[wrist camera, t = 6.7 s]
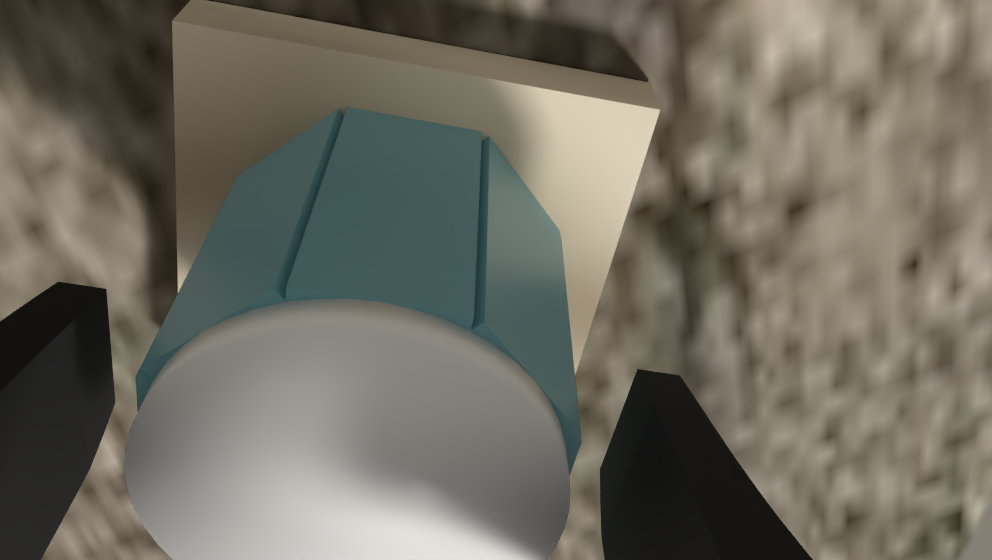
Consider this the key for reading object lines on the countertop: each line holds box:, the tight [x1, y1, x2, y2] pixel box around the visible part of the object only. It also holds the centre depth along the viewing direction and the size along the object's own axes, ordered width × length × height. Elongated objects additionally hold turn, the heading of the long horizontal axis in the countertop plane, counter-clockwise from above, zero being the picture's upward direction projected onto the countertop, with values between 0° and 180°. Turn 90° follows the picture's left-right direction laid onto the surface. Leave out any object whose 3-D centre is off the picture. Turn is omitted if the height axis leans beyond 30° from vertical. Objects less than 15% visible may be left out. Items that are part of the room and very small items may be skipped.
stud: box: [172, 0, 660, 374], centre depth 14 cm, size 7×7×4 cm
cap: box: [124, 107, 582, 560], centre depth 13 cm, size 5×5×5 cm
